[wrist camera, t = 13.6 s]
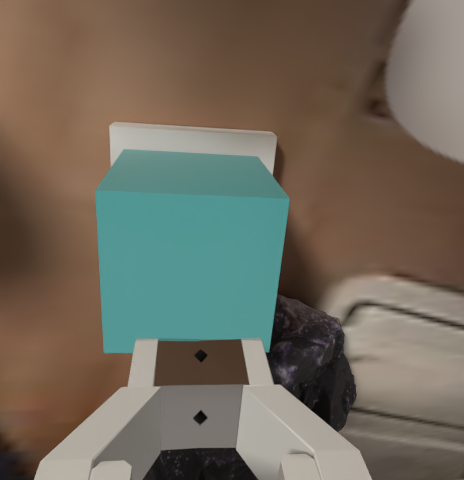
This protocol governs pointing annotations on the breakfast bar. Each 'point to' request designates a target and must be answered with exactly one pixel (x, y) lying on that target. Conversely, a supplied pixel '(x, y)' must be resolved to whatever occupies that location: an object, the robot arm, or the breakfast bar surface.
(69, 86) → the breakfast bar surface
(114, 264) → the turquoise cube
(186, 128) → the square base with post
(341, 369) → the dark grey rock
